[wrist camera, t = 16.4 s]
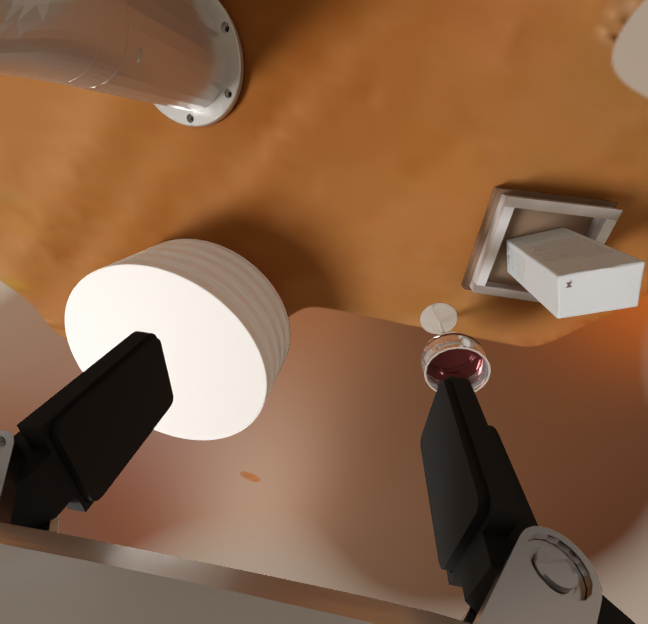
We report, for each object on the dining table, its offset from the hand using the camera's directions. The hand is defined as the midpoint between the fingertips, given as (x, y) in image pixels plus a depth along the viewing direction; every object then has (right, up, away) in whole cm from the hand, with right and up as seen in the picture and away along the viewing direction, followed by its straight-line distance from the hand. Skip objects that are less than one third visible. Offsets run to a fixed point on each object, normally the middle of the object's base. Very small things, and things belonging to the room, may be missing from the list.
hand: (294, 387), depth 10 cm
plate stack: (-18, +1, +40) cm, 44 cm away
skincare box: (+25, +10, +26) cm, 37 cm away
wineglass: (+17, +2, +33) cm, 37 cm away
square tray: (+26, +10, +27) cm, 38 cm away
